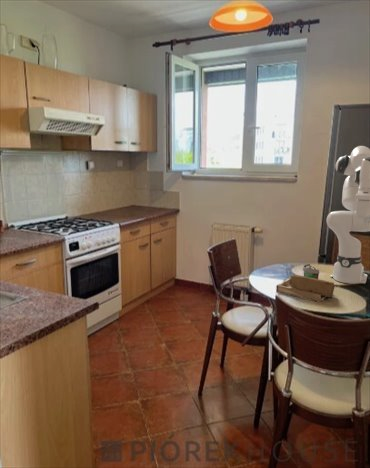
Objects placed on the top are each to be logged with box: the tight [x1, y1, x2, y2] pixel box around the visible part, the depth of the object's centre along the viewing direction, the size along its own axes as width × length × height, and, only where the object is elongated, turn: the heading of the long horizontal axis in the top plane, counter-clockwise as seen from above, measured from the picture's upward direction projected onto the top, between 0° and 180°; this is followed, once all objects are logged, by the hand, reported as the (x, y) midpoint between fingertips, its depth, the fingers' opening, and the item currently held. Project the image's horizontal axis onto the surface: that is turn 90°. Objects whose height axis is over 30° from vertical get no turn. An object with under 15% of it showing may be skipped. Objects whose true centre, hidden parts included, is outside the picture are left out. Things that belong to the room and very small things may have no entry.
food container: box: [301, 263, 320, 279], centre depth 192 cm, size 12×6×10 cm, turn 4°
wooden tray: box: [275, 277, 327, 303], centre depth 180 cm, size 15×22×4 cm
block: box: [290, 274, 335, 298], centre depth 176 cm, size 11×8×20 cm
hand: (366, 225), depth 160 cm, fingers closed
